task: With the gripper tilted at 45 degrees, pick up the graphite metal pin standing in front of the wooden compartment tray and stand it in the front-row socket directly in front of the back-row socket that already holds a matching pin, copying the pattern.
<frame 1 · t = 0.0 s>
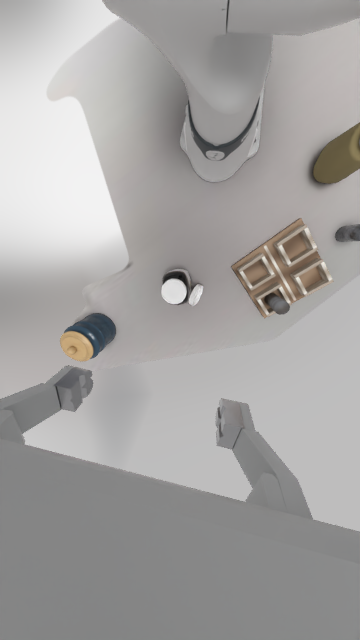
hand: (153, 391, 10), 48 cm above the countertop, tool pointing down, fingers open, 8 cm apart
spread jar: (185, 285, 56), on the countertop
wooden compartment tray: (279, 273, 50), on the countertop
squeeze bottle: (326, 167, 40), on the countertop
canister: (101, 327, 68), on the countertop
pin: (343, 233, 45), on the countertop
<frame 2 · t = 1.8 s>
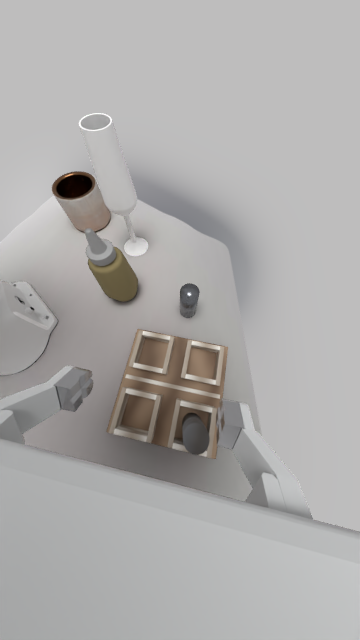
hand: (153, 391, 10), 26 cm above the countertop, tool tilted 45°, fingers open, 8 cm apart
wooden compartment tray: (172, 386, 35), on the countertop
squeeze bottle: (125, 291, 42), on the countertop
planter: (93, 220, 51), on the countertop
pin: (187, 310, 40), on the countertop
champagne flute: (136, 247, 47), on the countertop
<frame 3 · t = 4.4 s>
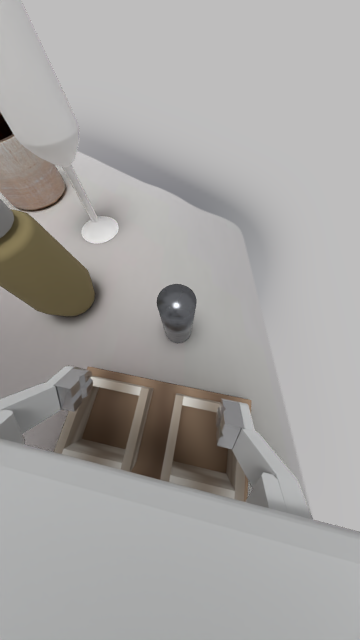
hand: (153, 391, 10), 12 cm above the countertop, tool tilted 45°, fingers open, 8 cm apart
wooden compartment tray: (147, 481, 18), on the countertop
squeeze bottle: (76, 299, 26), on the countertop
planter: (40, 194, 35), on the countertop
pin: (178, 330, 24), on the countertop
champagne flute: (100, 230, 31), on the countertop
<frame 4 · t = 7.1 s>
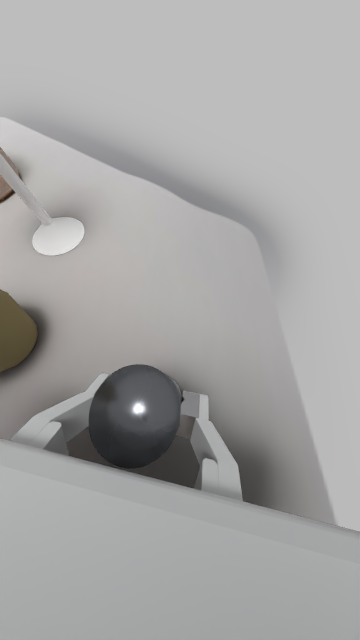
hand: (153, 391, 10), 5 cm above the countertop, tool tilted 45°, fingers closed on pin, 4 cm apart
squeeze bottle: (11, 341, 17), on the countertop
pin: (161, 396, 15), on the countertop, touching gripper
champagne flute: (59, 236, 22), on the countertop
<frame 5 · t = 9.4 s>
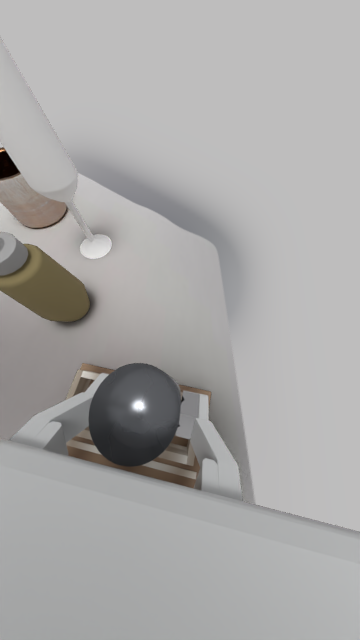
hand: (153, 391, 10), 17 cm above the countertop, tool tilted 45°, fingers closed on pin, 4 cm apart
wooden compartment tray: (126, 453, 23), on the countertop
squeeze bottle: (74, 307, 31), on the countertop
planter: (45, 213, 40), on the countertop
pin: (161, 396, 15), point 12 cm above the countertop, touching gripper
champagne flute: (96, 246, 36), on the countertop
when the fingers open (8 cm above the countertop, at t = 12.1 s): pin drops 1 cm, resting on wooden compartment tray.
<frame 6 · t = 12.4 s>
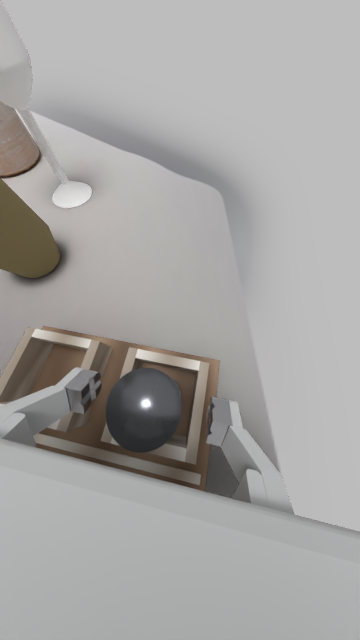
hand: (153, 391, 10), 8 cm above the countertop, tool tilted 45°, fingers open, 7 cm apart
wooden compartment tray: (99, 447, 16), on the countertop
squeeze bottle: (41, 262, 24), on the countertop
planter: (13, 162, 33), on the countertop
pin: (162, 395, 16), point 1 cm above the countertop, touching wooden compartment tray
champagne flute: (72, 195, 29), on the countertop
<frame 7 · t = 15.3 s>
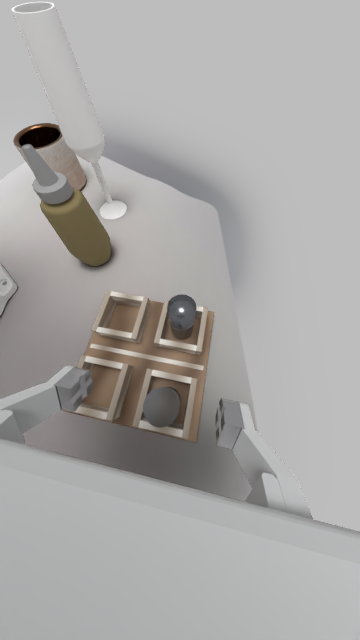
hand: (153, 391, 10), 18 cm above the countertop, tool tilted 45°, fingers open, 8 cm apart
wooden compartment tray: (146, 357, 29), on the countertop
squeeze bottle: (98, 256, 37), on the countertop
planter: (67, 185, 46), on the countertop
pin: (181, 329, 29), point 1 cm above the countertop, touching wooden compartment tray
champagne flute: (113, 210, 42), on the countertop
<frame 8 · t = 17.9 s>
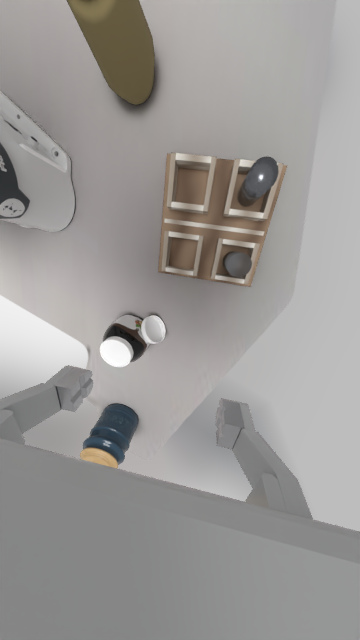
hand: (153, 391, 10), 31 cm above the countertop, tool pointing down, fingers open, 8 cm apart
spread jar: (143, 326, 45), on the countertop
wooden compartment tray: (212, 227, 34), on the countertop
squeeze bottle: (136, 80, 27), on the countertop
canister: (122, 415, 61), on the countertop
pin: (247, 194, 30), point 1 cm above the countertop, touching wooden compartment tray
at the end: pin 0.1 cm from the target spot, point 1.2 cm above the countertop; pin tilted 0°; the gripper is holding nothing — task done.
